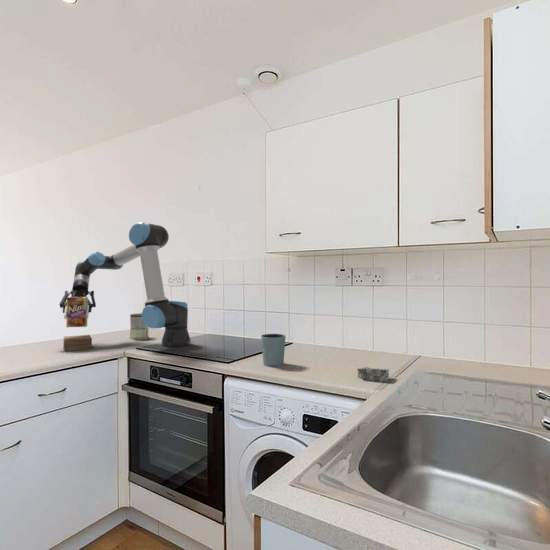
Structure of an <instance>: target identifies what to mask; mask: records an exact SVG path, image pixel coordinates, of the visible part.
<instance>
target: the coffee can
mask: <svg viewBox="0 0 550 550" xmlns="http://www.w3.org/2000/svg"><path fill="white" fill-rule="evenodd" d="M129 316H130V334H129V335H130V337H129V339H130V340H145V339H146V340H147V339H149V327H148V326H146V325H145V324H144V322H143V320H142V313H132V314H130V315H129Z"/></svg>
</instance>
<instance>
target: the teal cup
mask: <svg viewBox="0 0 550 550" xmlns="http://www.w3.org/2000/svg"><path fill="white" fill-rule="evenodd" d="M260 337H261V338H260V339H261V349H262V365H263V366H265V367H272V368H274V367H282V366H284V364H285V349H286V346H285V345H286V334H283V333H282V334H281V333H265V334H261V336H260Z"/></svg>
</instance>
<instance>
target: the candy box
mask: <svg viewBox="0 0 550 550" xmlns="http://www.w3.org/2000/svg"><path fill="white" fill-rule="evenodd" d="M88 299H89V297H88V296H87V297H71V296H68V297H67V300H66V301H67V318H66V325H65V326H66V328H86V327H88V318H86V313H87V305H88Z"/></svg>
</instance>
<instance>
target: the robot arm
mask: <svg viewBox="0 0 550 550" xmlns="http://www.w3.org/2000/svg"><path fill="white" fill-rule="evenodd" d="M128 240H129V242H130V243H131V245H129V246H127V247H125V248H124V249H122V250H120V251H118V252H116V253H114V254H112V255H110V256H109V255H105V254H103V253H102V252H100V251H94V252H92V253H91V254H90V255H89V256H88V257H87V258H86V259H85V260H82V261H78V262H77V263H76V266H75V270H74V276H73V277H74V278H73V284H72V289H71V290H70V291H68V290H65V291H64V295H63V297H62V299H61V301H60V302H59V307H60V309H62V313H63V318H64V320H67V297H88V296H90V298H91V301H90V299H89V298H88V305H87V313H86V318H87V319H89V315H90V313H92V310H93V308H96V307H97V305H96V301H95V300H96V299H95V290H91V291H89V288H90V287H89V285H90V277H91V275H92V274H93V273H94V272H95V271H96V270H113V271H114V270H116V271H117V270H121V269H122V268H123V266H124V265H125V264H127V263H130V262H132V261H133V260H135V259H137V258H139V257H140V263H141V268H142V269H141V270H142V276H143V282H144V286H145V287H144V289H145V294H146V295H145V296H146V301H145V302H144V307H143V308H142V311H141V314H142V320H143V322H144V324H145V325H146V326H148V329H162V328H164V332H163V336H162V339H161V346H163V347H170V348H171V347H184V346H185V347H186V346H189V345H191V342H192V341H191V337H190V334H189V330H188V322H189V321H188V318H189V317H188V311H189V310H188V303H187V301H186V302H185V301H176V300H169V298H167V297H166V296H165V295H166V293H165V290H164V284H163V279H162V277H163V276H162V270H161V265H160V259H159V254H158V253H159V252H158V250H160V249H161V248H164V246H166V245H167V244H168V242H169V240H170V239H169V232H168V230H167V229H166V228H165V227H164V226H162V225H159V224H153V223H148V222H141V221H139V222H136V223H134V224H133V225H132V226H131V227H130V229H129V232H128ZM70 295H71V296H70Z"/></svg>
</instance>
